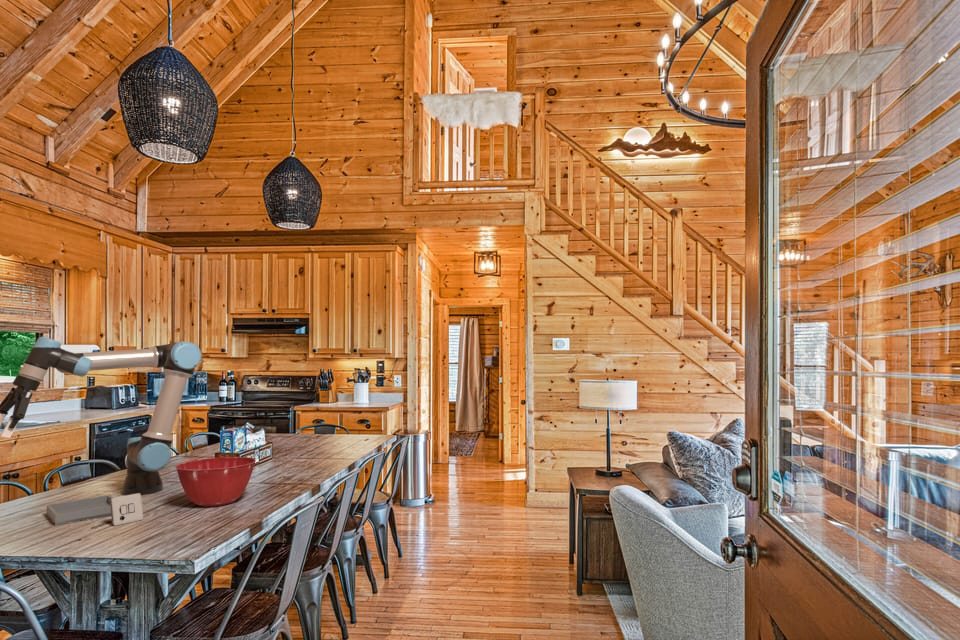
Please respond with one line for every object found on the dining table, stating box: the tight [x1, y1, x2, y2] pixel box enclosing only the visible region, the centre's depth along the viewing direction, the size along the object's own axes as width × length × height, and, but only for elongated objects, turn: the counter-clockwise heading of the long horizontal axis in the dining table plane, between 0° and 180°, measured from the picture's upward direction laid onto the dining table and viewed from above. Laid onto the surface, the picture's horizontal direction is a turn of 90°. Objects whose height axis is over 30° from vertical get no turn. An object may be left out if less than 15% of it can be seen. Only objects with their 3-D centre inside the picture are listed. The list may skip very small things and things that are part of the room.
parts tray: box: [46, 494, 115, 526], centre depth 214 cm, size 20×20×4 cm
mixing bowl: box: [175, 456, 257, 508], centre depth 228 cm, size 28×28×16 cm
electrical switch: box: [110, 493, 144, 527], centre depth 203 cm, size 9×5×9 cm, turn 141°
